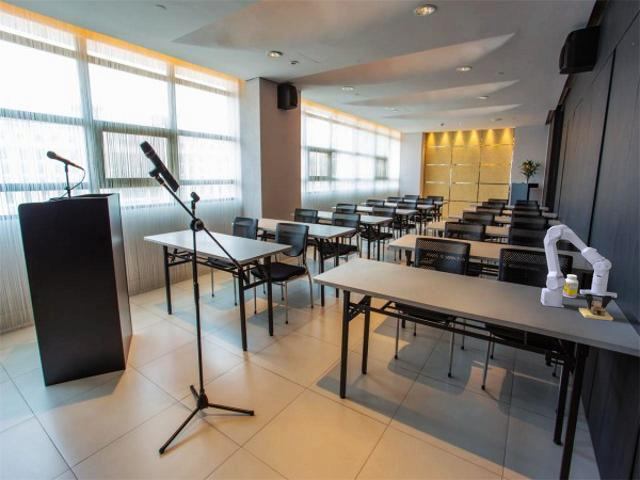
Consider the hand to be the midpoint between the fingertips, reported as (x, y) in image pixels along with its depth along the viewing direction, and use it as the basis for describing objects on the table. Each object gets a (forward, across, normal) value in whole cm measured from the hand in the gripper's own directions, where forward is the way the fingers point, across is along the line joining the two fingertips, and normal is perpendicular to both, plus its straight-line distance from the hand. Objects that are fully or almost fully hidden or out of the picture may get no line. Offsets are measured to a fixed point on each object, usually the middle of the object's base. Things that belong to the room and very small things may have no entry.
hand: (595, 309), depth 171 cm
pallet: (+2, 0, 0) cm, 2 cm away
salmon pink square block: (-2, 0, 0) cm, 2 cm away
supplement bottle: (+4, -4, +28) cm, 29 cm away
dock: (+3, 0, 0) cm, 3 cm away
